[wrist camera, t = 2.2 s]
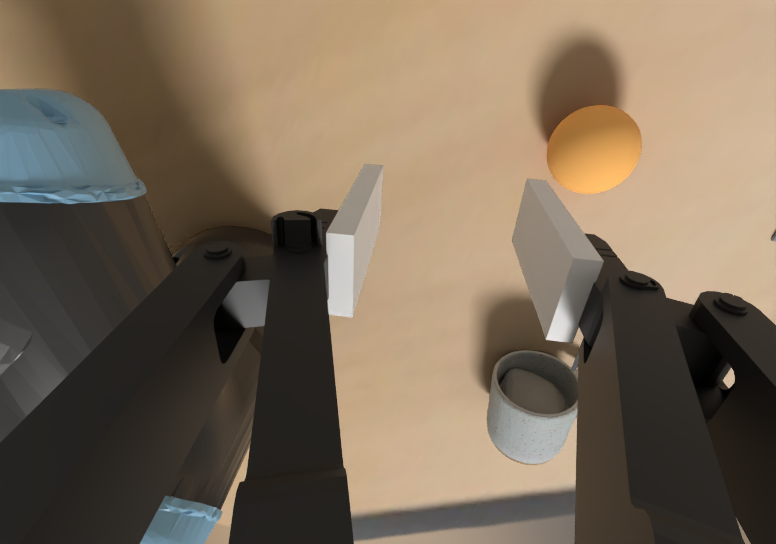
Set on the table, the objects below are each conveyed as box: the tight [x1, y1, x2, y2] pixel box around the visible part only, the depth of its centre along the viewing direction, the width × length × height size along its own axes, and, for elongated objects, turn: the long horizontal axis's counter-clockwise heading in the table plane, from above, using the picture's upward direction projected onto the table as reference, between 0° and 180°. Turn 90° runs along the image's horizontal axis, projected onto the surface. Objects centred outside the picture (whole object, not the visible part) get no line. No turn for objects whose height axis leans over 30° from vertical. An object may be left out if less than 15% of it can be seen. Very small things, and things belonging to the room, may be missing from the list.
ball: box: [547, 105, 642, 194], centre depth 26 cm, size 6×6×6 cm
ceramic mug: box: [487, 350, 578, 465], centre depth 37 cm, size 11×8×8 cm
